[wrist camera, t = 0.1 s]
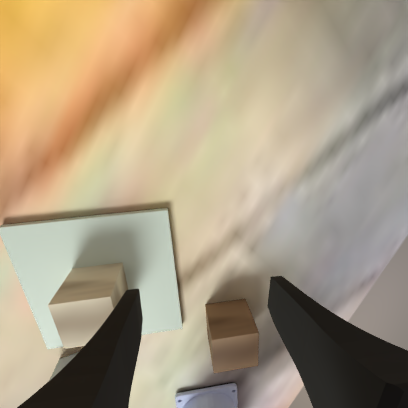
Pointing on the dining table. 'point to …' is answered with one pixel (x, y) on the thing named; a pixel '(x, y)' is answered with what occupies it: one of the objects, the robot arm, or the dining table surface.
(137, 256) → the station board
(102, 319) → the maple block
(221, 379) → the dining table surface
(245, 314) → the walnut block
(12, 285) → the dining table surface
